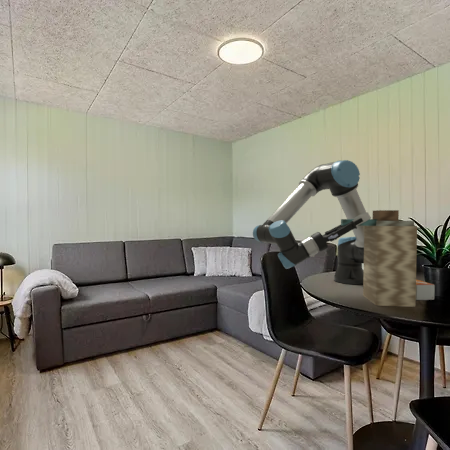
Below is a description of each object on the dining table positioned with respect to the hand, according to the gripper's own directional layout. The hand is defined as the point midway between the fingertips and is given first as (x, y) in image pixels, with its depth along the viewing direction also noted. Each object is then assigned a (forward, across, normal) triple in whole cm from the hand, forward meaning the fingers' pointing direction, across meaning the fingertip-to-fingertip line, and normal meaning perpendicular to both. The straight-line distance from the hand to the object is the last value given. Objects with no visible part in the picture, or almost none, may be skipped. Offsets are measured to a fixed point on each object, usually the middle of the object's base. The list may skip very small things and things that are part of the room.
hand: (367, 215), depth 120 cm
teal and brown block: (-2, 0, -4) cm, 4 cm away
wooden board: (-10, 0, -34) cm, 35 cm away
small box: (+3, -16, -37) cm, 41 cm away
